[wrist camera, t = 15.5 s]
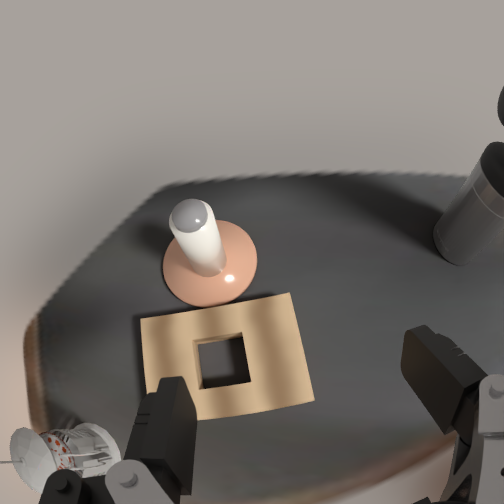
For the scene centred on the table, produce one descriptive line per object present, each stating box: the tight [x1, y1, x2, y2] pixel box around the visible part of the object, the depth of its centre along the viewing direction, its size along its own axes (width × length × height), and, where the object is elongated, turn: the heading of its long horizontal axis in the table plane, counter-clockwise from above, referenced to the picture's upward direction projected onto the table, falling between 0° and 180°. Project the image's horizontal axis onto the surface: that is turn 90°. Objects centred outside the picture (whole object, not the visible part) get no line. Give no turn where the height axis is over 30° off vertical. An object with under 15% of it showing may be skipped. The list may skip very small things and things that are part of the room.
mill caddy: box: [141, 293, 314, 420], centre depth 35 cm, size 20×14×3 cm
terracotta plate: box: [163, 220, 257, 308], centre depth 43 cm, size 14×14×1 cm
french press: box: [0, 423, 121, 494], centre depth 19 cm, size 10×12×25 cm
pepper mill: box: [169, 199, 227, 277], centre depth 38 cm, size 5×5×12 cm
